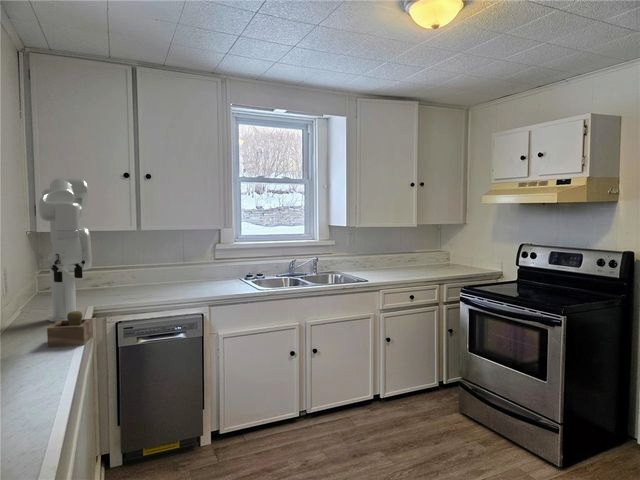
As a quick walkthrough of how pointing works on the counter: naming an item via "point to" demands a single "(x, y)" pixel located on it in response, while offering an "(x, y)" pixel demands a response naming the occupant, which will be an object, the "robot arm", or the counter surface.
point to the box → (69, 333)
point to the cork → (75, 318)
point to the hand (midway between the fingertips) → (68, 279)
